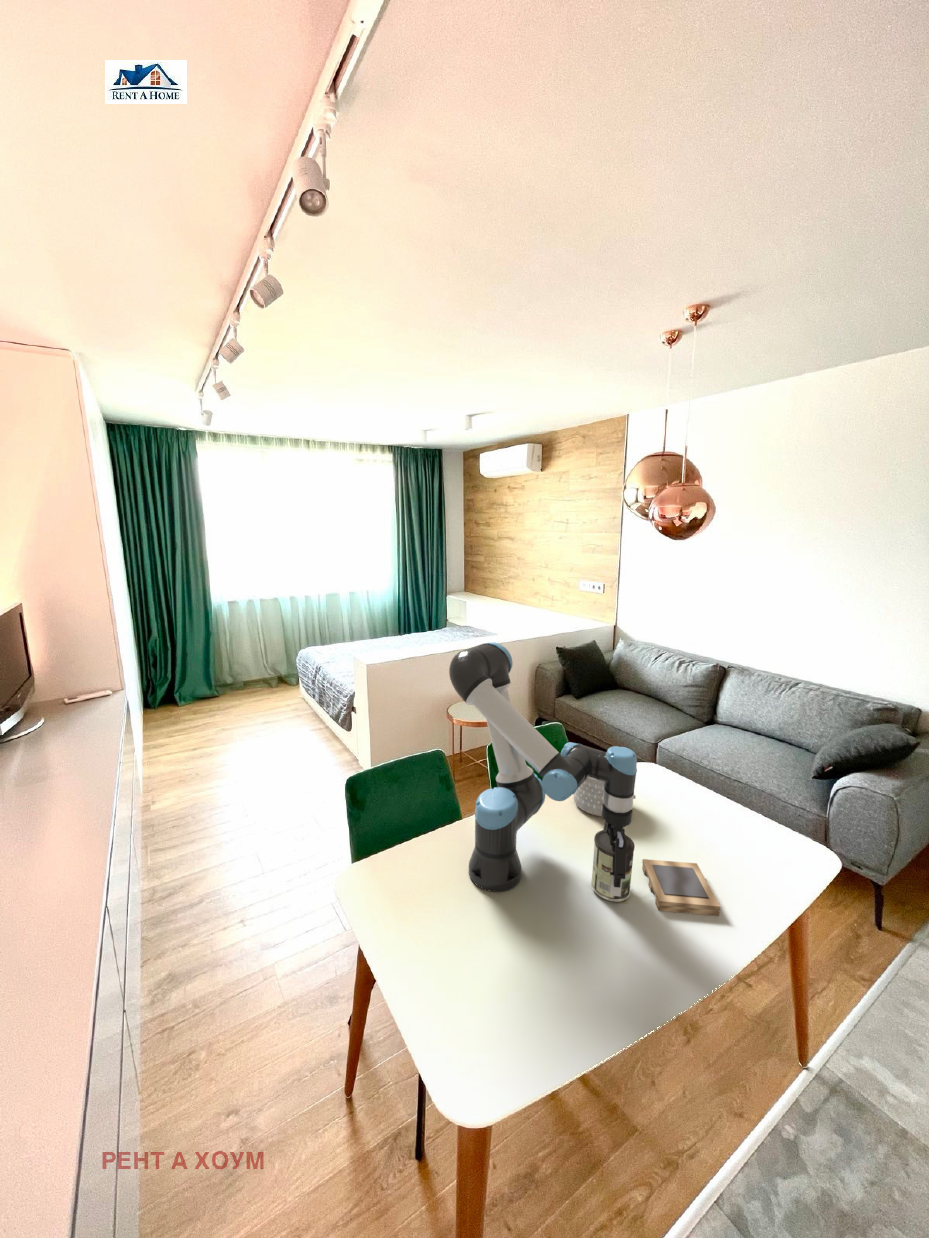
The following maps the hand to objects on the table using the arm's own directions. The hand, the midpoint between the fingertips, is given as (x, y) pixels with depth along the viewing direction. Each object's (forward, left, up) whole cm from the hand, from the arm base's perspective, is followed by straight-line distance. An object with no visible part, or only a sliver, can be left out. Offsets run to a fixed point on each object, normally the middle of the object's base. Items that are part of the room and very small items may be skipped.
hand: (610, 879), depth 127 cm
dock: (+18, +2, -3) cm, 19 cm away
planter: (+4, +42, -3) cm, 42 cm away
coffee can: (0, 0, -3) cm, 3 cm away
